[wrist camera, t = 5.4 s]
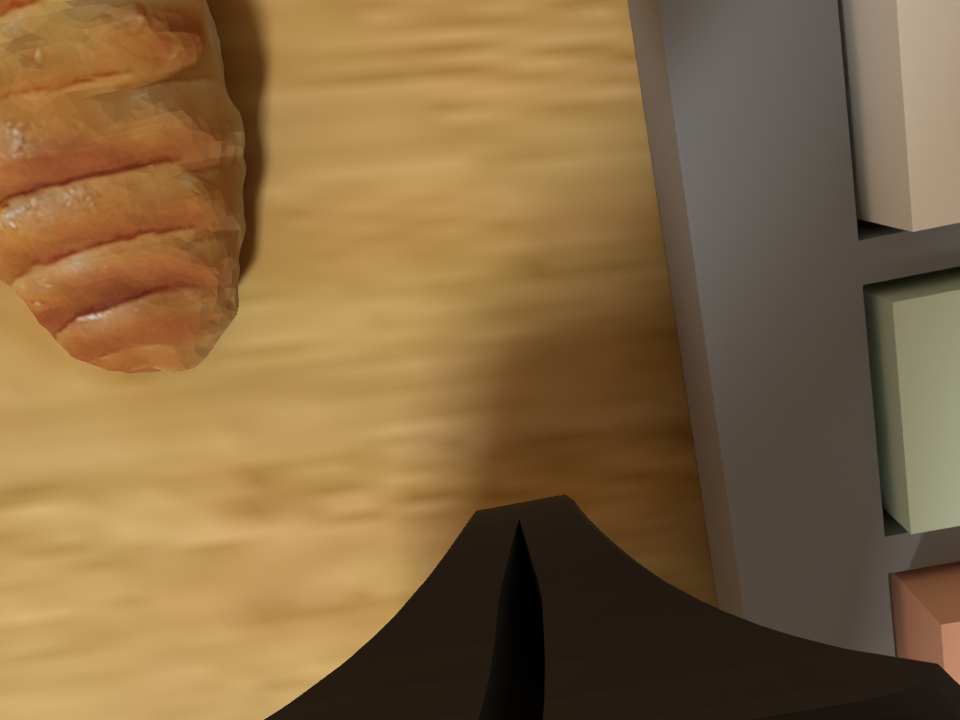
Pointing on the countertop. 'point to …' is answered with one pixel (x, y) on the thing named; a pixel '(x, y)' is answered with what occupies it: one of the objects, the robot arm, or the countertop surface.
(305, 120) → the countertop surface
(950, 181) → the cream button
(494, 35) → the countertop surface
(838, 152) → the panel
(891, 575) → the terracotta button
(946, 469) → the sage button
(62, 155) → the pastry
